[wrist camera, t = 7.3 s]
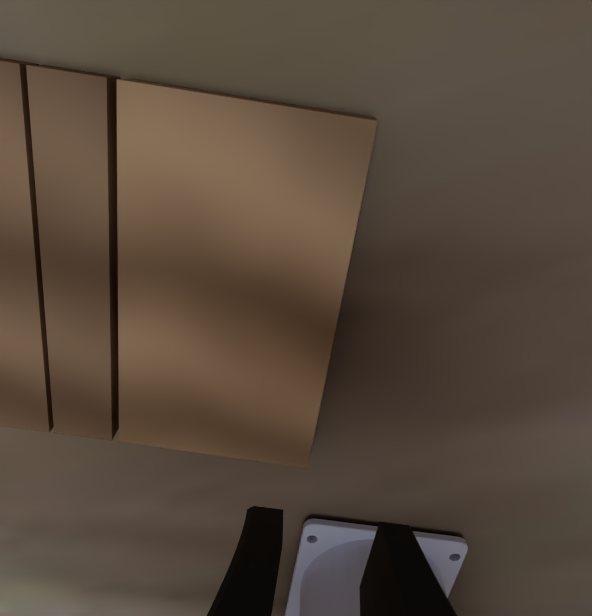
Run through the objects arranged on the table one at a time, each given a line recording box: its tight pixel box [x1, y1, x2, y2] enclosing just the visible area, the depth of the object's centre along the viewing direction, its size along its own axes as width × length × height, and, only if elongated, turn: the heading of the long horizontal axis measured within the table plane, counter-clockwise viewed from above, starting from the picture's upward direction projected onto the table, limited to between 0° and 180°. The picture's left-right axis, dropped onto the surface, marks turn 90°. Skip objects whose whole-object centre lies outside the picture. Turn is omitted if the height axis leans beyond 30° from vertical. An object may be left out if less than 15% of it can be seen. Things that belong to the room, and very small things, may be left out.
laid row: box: [0, 58, 120, 441], centre depth 19 cm, size 14×5×1 cm, turn 172°
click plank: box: [117, 79, 378, 469], centre depth 19 cm, size 14×8×1 cm, turn 172°
